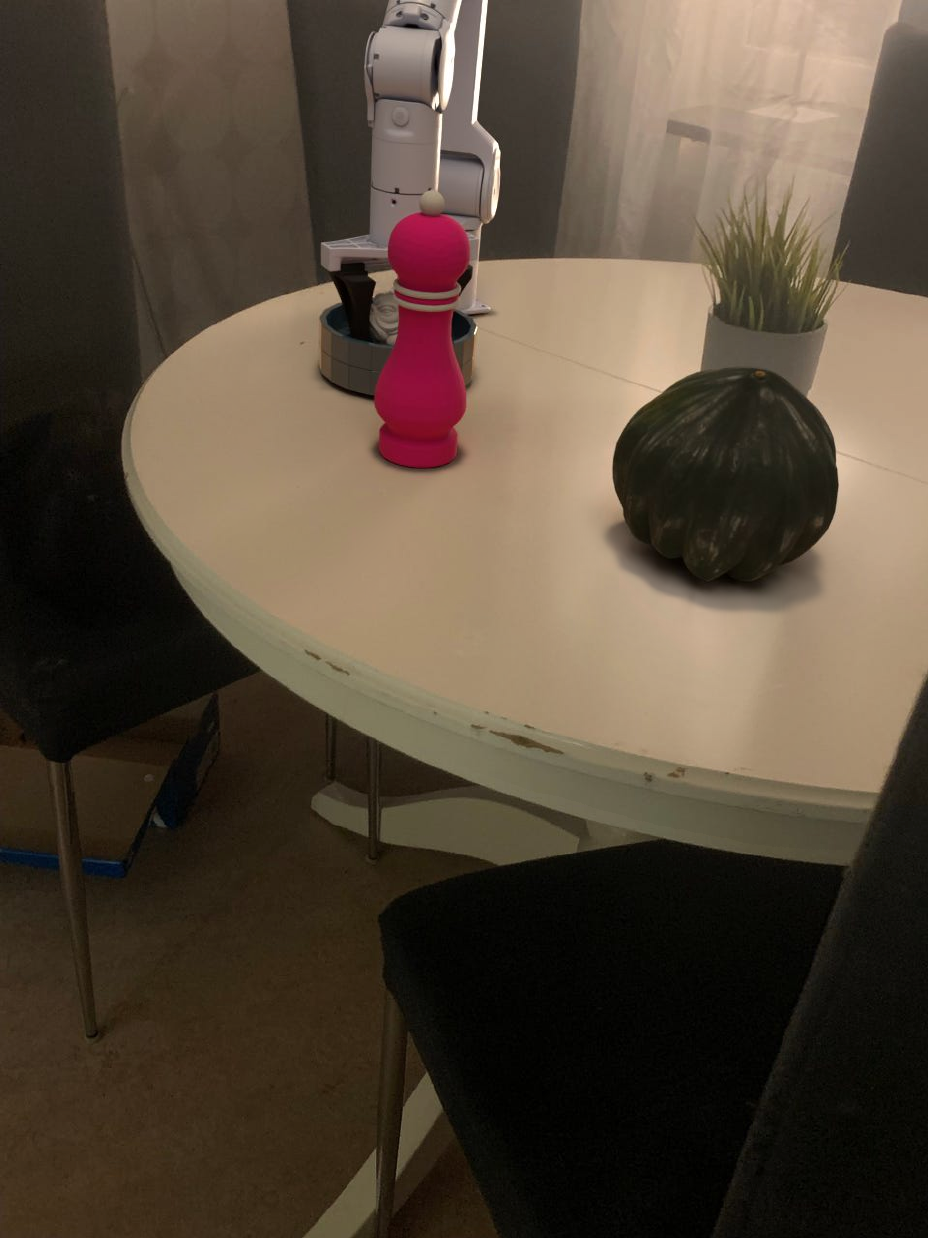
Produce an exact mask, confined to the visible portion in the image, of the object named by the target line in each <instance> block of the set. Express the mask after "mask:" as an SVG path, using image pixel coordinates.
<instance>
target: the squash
mask: <svg viewBox="0 0 928 1238" xmlns="http://www.w3.org/2000/svg"><path fill="white" fill-rule="evenodd" d="M611 467H612V468H611V469H612V471H611V473H612V482H613V487H614V493H615V494H616V496H617V499H618V501H619V504H620V505H621V508H622V516H623V519H624V521H625V524H626V526H627V528H628V529H629V531H630V533H631V535H632V536H633V537H634V538H635V539H636V540H637V541H639V542H641V543H643V544H646V545H651V546H653V547H654V548H655V550H656V551H657V552H658V553H659V554H660V555H661V556H662V557H665V558H668V559H678V558H682V560H683V562H684V565H685V567H686V568H687V570H689V572H690V573H691V574H692V575H693V576H694V577H696V578H698V579H699V580H702V581H709V582H710V581H712V580H716V579H718V578H719V577H721V576H723V575H724V574H726V575H727V576H729V577H730V578H732V579H734V580H736V581H740V582H754V581H756V580H758V579H760V578H763V577H764V576H766V575H767V574H770V573H771V572H772V571H773V570H775V569H776V568H777V567H780V566H782V565H786V564H788V563H791V562H793V561H794V560H796V559H798V558H799V557H801V556H803V555H804V554H806V553H807V552H809V550H811V549H812V548H813V547H814V546H815V545H816V544H817V543H818V542H819V541H820V540H821V539H822V537H824V535H825V534H826V533H827V531H828V530H829V528H830V526H831V525H832V522H833V520H834V517H835V514H836V510H837V506H838V505H837V503H838V495H839V488H840V487H839V486H840V484H839V472H838V471H839V470H838V466H837V448H836V443H835V438H834V434H833V432H832V430H831V428H830V425H829V424H828V422H827V421H826V419H825V417H824V415H823V414H822V413H821V411H820V409H818V407H817V406H816V405H815V404H814V403H813V402H812V401H811V400H810V399H809V398H808V397H807V396H806V394H804V393H803V392H802V391H801V390H799V389H798V388H796V386H794V385H793V384H792V383H791V382H790V381H788V379H786V378H784V377H783V376H782V375H780V374H779V373H777V372H775V371H774V370H771V369H768V368H763V367H757V366H751V365H746V366H745V365H744V366H743V365H741V366H740V365H738V366H731V367H723V368H716V369H706V370H705V369H704V370H701V371H696V372H694V373H692V374H691V373H690V374H689V375H686V376H684V377H683V378H681V379H679V380H677V381H676V382H674V383H672V384H670V385H669V386H668V387H667V388H666V389H665V390H663V391H662V393H660V394H658V395H656V396H655V397H654V398H653V399H652V400H650V401H648V402H647V403H646V404H644V405H642V407H640V408H639V409H638V410H637V411H636V412H635V413H634V414H633V415H632V416H631V418H630V419H629V420H628V422H627V423H626V424H625V426H624V428H623V429H622V431H621V434H620V435H619V437H618V438H617V441H616V442H615V447H614V453H613V455H612V466H611Z"/></svg>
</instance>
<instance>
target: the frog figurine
mask: <svg viewBox="0 0 928 1238" xmlns="http://www.w3.org/2000/svg"><path fill="white" fill-rule="evenodd" d="M393 294H394V293H389V292H387V293H385V292H378V293H377V294H375V295H374V297H373V298H374V299H373V304H372V303H371V310H370V332H369V336H370V337H371V338H372V339H373V343H374V344H382V345H391V346H394V345H395V341H396V337H397V334H398V323H399V313H398V304H397V303H396V302H395V301H394V300H393Z"/></svg>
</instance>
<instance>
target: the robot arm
mask: <svg viewBox="0 0 928 1238" xmlns="http://www.w3.org/2000/svg"><path fill="white" fill-rule="evenodd" d="M488 1H489V0H388V1H387V2H388V3H387V6H386V10H385V14H384V18H383V23H382V25H381V27H380V28H379V29H378V32H376V31H371V32H370V34H369V36H368V39H367V42H366V47H365V54H364V68H363V70H364V71H363V72H364V76H363V77H364V90H365V95H366V103H367V114H366V115H367V116H366V117H367V126H368V127H370V128H372V129H371V132H372V133H371V162H370V163H371V167H370V199H369V200H370V202H369V204H370V208H369V210H370V211H369V234H364V235H360V236H355V237H350V238H345V239H339V240H333V241H324V242H320V266H322V268H324V269H325V270H327V272H328V275H329V277H330V279H331V280H332V282H333V284H334V285H333V286H334V288H335V289H336V291H337V293H338V296H339V298H340V302H342V304H343V307H344V310H345V313H346V317H347V321H348V325H349V330H350V335H351V338H353V339H357V340H361V341H365V342H369V332H370V310H371V303H372V298H374V297H373V296H374V292H375V288H376V284H377V281H376V280H375V279H373V278H372V277H370V276H369V271H368V270H366V267H373V266H387V265H391V264H390V262H389V260H388V242H389V238H390V235H391V233H392V230H393V229H394V227H395V226H396V224H397V223H398V222H399V221H400V220H402V219H403V218H405V217H407V216H409V215H411V214H414V213H419V212H422V211H421V209H420V206H419V201H420V198H421V196H422V195H423V194H424V193H425V192H427V191H430V190H433V191H437V192H439V193H440V194H441V195H442V197H443V199H444V209H443V211H442V212H441V213H440V214H444V215H447V216H449V217H451V218H453V219H455V220H456V221H457V222H458V223H459V224H460V225H461V226H462V227H463V228H464V230H465V231H466V233H467V235H468V238H469V243H470V261H469V265H468V267H467V269H466V270H465V272H464V273H463V274H462V275H461V276H460V277H459V278H458V280H457V283H458V284H459V285H460V286H461V291H460V293H459V298H460V304H459V305H458V306H457V307H456V308H454V309H456V310H459V311H461V312H463V313H465V314H466V315H474V314H475V315H476V314H485V313H490V312H491V307H490V306H488V305H487V304H485V303H483V302H481V301H480V300H478V299H477V298H476V297H477V285H478V271H479V260H480V259H479V258H480V247H481V233H482V226H483V225H484V224H486V225H487V224H489V223H490V222H491V221H492V220H493V219H494V218H495V215H496V211H497V207H498V202H499V195H500V183H501V168H500V162H501V150H500V147H499V143H498V142H497V141H496V140H495V138H494V137H493V136H492V135H491V134H490V133H489V132H488V131H487V129H485V128H484V127H483V126H482V125H481V124H480V123H479V121H478V110H479V100H480V99H479V96H480V88H481V76H482V66H483V55H484V44H485V34H486V22H487V12H488ZM441 151H449V152H456V153H466V154H471V155H474V156H477V157H471V156H469V157H468V156H462V155H461V156H460V155H453V154H443V153H441ZM397 278H398V275H397V274H396V279H397ZM388 290H389V291H388V293H394V290H395V289H394V287H393V288H389V289H388Z"/></svg>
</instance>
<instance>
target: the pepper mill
mask: <svg viewBox="0 0 928 1238" xmlns="http://www.w3.org/2000/svg"><path fill="white" fill-rule="evenodd" d="M419 206H420V209H421V211H422V212H419V213H414V214H411V215H409V216H407V217H405V218H403V219H402V220H400V221H399V222H398V223H397V224H396V226H395V227H394V229H393V230H392V233H391V235H390V238H389V242H388V260H389V262H390V264H389V265H390V266H391V269H392V270H393V271H394V272H395V273H396V276H397V275H398V278H397V277H396V278H395V279H394V281H393V283H392V286H393V288H394V289H395V290H394V294H393V300H394V301H395V302H396V303H397V304H398V313H399V323H398V334H397V337H396V341H395V345H394V347H393V350H392V352H391V354H390V356H389V358H388V360H387V362H386V364H385V365H384V367H383V369H382V371H381V373H380V376H379V379H378V382H377V385H376V390H375V395H374V397H373V403H374V408H375V410H376V413H377V414H378V416H379V417H380V419H381V420H382V421H383V422H384V423H383V424H382V425H381V426H380V428H379V432H378V435H379V436H378V450H379V452H380V454H381V456H382V457H383V458H384V459H386V460H387V461H389V462H391V463H393V464H396V465H399V466H403V467H409V468H414V469H415V468H416V469H423V468H424V469H427V468H436V467H440V466H444V465H446V464H449V463H450V462H452V461H453V460H454V459H455V458H456V456H457V454H458V453H457V452H458V440H459V439H458V438H459V435H458V430H456V429H455V428H454V427H456V425H457V424H458V423H459V422H460V421H461V420H462V419H463V417H464V415H465V414H466V411H467V388H466V385H465V384H464V379H463V376H462V373H461V370H460V368H459V365H458V362H457V359H456V356H455V353H454V350H453V345H452V338H451V321H452V315H453V310H454V308H456V307H457V306H458V305H459V304H460V298H459V293H460V291H461V286H460V285H459V284H458V283H457V280H458V278H459V277H460V276H461V275H462V274H463V273H464V272H465V270H466V269H467V267H468V265H469V261H470V243H469V238H468V235H467V233H466V231H465V230H464V228H463V227H462V226H461V225H460V224H459V223H458V222H457V221H456V220H455V219H453V218H451V217H449V216H447V215H444V214H440V213H441V212H442V211H443V209H444V199H443V197H442V195H441V194H440V193H439V192H437V191H433V190H430V191H427V192H425V193H424V194H423V195H422V196H421V198H420V201H419Z"/></svg>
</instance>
